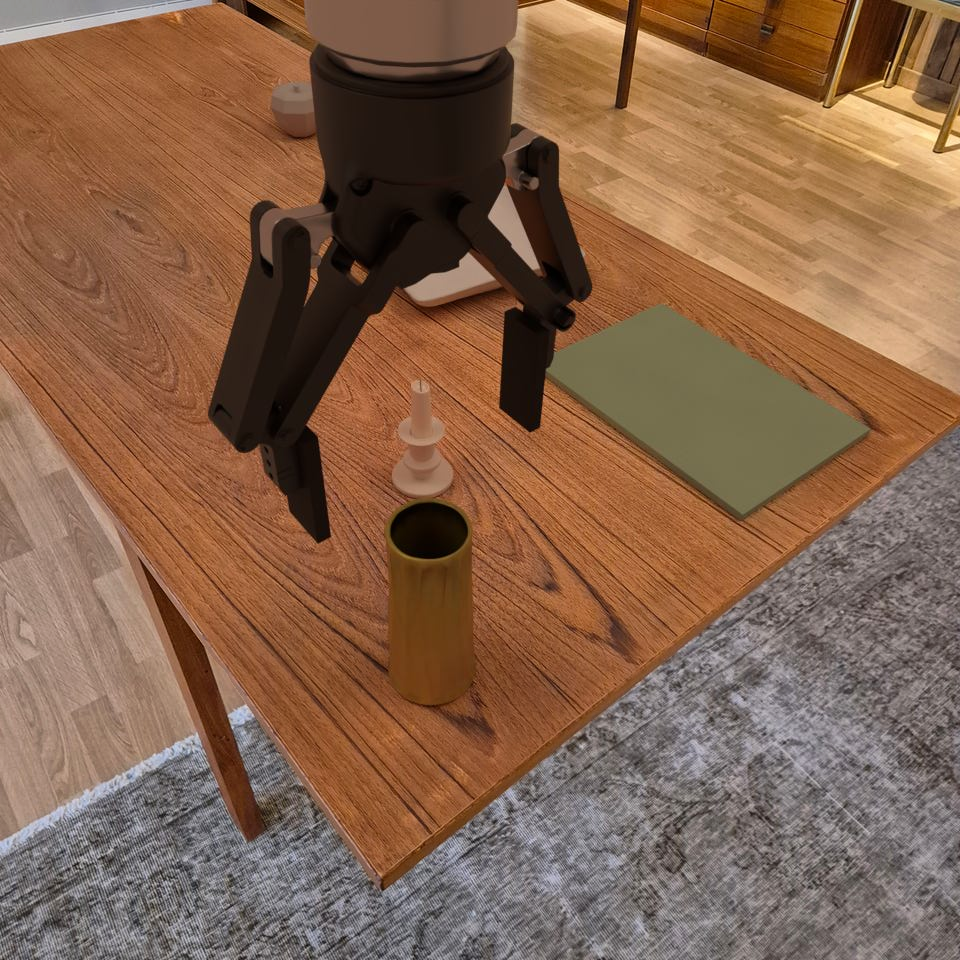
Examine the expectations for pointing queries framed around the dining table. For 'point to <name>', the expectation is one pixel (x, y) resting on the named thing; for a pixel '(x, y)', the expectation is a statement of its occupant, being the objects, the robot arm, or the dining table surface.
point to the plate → (470, 271)
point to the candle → (421, 450)
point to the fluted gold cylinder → (430, 601)
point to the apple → (294, 108)
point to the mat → (704, 407)
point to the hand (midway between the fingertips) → (421, 468)
